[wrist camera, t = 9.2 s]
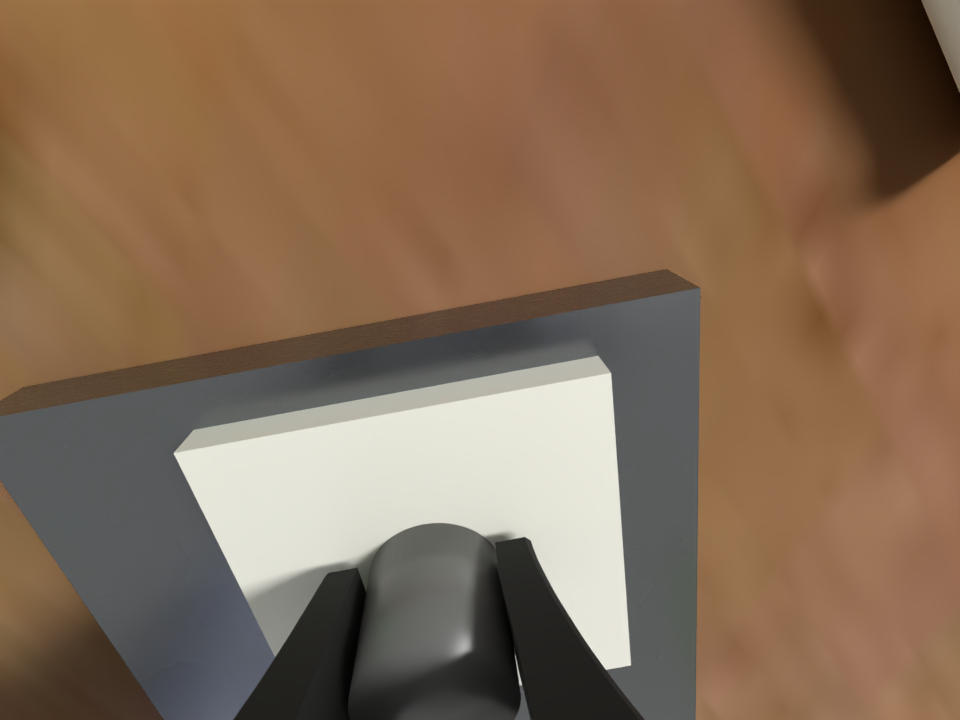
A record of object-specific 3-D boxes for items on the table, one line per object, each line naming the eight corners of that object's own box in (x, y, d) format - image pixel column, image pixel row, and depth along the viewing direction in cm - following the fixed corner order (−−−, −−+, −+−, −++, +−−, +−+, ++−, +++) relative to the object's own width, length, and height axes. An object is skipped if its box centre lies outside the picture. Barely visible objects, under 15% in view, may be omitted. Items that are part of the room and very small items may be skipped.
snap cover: (315, 691, 13) (275, 871, 10) (193, 429, 10) (73, 570, 7) (620, 635, 13) (678, 797, 10) (598, 355, 10) (675, 459, 7)
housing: (315, 870, 19) (305, 927, 18) (23, 387, 11) (-39, 423, 9) (675, 804, 19) (693, 856, 18) (667, 269, 11) (700, 288, 9)
